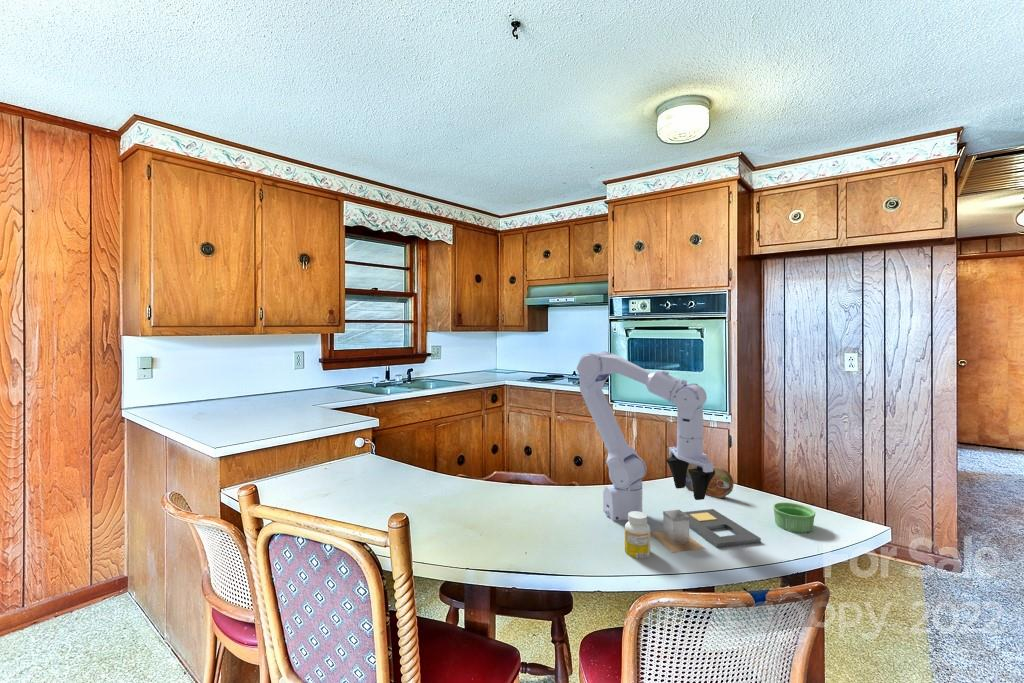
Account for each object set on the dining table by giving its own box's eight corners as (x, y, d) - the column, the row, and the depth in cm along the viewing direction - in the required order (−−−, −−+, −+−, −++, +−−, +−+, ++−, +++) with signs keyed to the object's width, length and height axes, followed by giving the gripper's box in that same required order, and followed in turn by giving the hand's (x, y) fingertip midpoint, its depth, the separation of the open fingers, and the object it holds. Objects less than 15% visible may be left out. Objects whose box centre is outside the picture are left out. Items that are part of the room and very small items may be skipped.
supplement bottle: (643, 567, 99) (643, 522, 98) (620, 559, 102) (620, 515, 102) (654, 557, 103) (654, 513, 102) (631, 550, 106) (631, 507, 106)
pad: (671, 559, 102) (672, 552, 102) (648, 538, 112) (648, 532, 112) (705, 555, 104) (705, 548, 103) (679, 535, 113) (679, 528, 113)
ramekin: (824, 533, 114) (824, 514, 114) (790, 536, 113) (791, 517, 112) (796, 517, 123) (796, 501, 123) (764, 520, 121) (765, 503, 121)
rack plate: (716, 554, 104) (717, 542, 103) (674, 522, 120) (674, 512, 120) (760, 549, 106) (760, 537, 106) (713, 518, 122) (713, 508, 122)
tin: (680, 488, 145) (680, 460, 145) (685, 485, 147) (685, 458, 147) (730, 501, 134) (730, 472, 134) (734, 498, 136) (735, 469, 136)
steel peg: (672, 545, 105) (672, 518, 105) (663, 536, 109) (663, 511, 109) (689, 543, 106) (689, 516, 106) (679, 535, 110) (679, 509, 110)
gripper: (725, 442, 105) (724, 503, 106) (686, 428, 120) (686, 481, 120) (697, 444, 104) (696, 506, 104) (661, 430, 118) (661, 484, 118)
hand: (689, 493), depth 112 cm, fingers open, 7 cm apart
